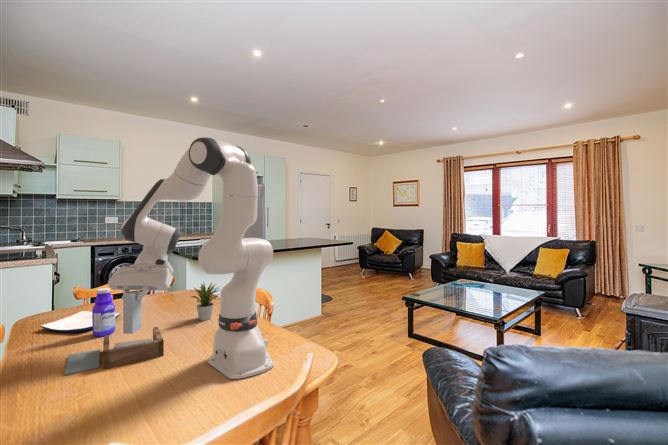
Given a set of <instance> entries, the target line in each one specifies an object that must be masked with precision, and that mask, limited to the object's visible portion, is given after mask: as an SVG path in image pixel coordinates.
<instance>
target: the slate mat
mask: <svg viewBox="0 0 668 445" xmlns="http://www.w3.org/2000/svg"><path fill="white" fill-rule="evenodd" d="M100 358H101V349H93V350H88V351H82V352H78V353H73V354H69V355H68V358H67V363H66V366H65V369H64V376H68V375H73V374H77V373H78V374H79V373H84V372H87V371H92V370H96V369H100V362H101V360H100Z"/></svg>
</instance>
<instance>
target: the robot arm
mask: <svg viewBox="0 0 668 445" xmlns="http://www.w3.org/2000/svg"><path fill="white" fill-rule="evenodd" d="M251 162H252V161H251V157H250V155H249V153H248V151H246V150H245V149H243V148H242V147H241V146H238V145H234V144H231V143H229V142H227V141H225V140H221V139H216V138H215V139H214V138H212V137H206V136H205V137H198V138H195V139H194V140H193V141H192V143H191V144H190V146H189V148H188V149H186V151H185V152H184V153H183V154H182V156H181V158H180V159H179V161H178V162H177V164H176V166H175V169H174V170H173V173H172V174H171V175H169V176H168V177H167V178H160V179H159V180H157V181H156V183H154V185H153V186H152V187H151V189H150V190H148V191H147V193H146V195H145V196H144V197H143V199H142V200H141V201H140V203H139V204H138V205H137V207H136V209H135V210H134V211H133V213H131V214H130V215H129V216H128V217H127V218H126V219H125V220H124V222H123V224H122V225H121V228H120V234H121V235H122V237H123V239H124V240H125V241H128V242H131V243H135V244H139V245H143V246H142V251H141V252H140V253H139V254H138V256H137V258H136V260H135V261H134V263H133V265H122V266H121V267H118V268H117V269H116V271H115V272H113V274H112V275H111V277H110V278H109V279H108V281H107V285H108V288H110V290H113V291H115V290H116V291H117V290H118V291H122V293H123V294H122V297H121V300H122V301H123V295H125V294H127V293H130V292H131V291H141V293H140V294H137V295H136V297H135V299H136V301H141V302H142V300H143V298H144V297H145V296H146V295H148V294H149V292H150V291H167V290H168V289H169V288H170V287H171V284H172V280H173V274H174V268H173V266H172V265H171V263H170V262H169V261H168V260H165V259H166V257H167V256H168V255H170V254H172V253H173V252H174V251H175V249H176V246H177V244H178V242H179V241H180V238H181V235H180V233H179V230H178V229H177V228H176V227H174V226H172V225H169V224H167V223H163V222H160V221H158V220H155V219H153V218H150V217H149V216H148V215H149V213H150V211H151V210H152V209H153V208H154V206H155V205H156V203H157V202H160V201H166V200H167V201H169V200H170V201H179V202H180V201H181V202H183V201H184V202H187V201H191V200H195V199H197V198H198V197H199V196H201V194H202V192H204V189H205V188H206V186H207V183H208V181H209V180H210V178H211V176H215V175H217V176H219V178H220V179H221V180H222V200H221V201H222V204H221V214H220V215H221V216H220V221H219V223H218V226H217V228H216V231H215V232H214V234H213V235H212V236H211V237H210V239H209V240H208V241H206V242H205V243H204V244H202V245H201V247H200V249H199V252H198V256H197V257H198V265H199V267H200V268H201V269H202V270H203V272H204V273H205V274H210V275H226V274H227V275H229V274H233V276H232V277H231V279H230V281H229V282H228V283H227V284H225V285H223V286H222V287H223V288H221V291H220V293H219V295H220V296H219V298H220V300H219V301H220V304H219V308H220V310H219V312H220V313H219V315H218V319H217V320H218V329H217V331H216V332H215V333H214V335H213V342H212V343H213V344H212V355H211V356H210V357H208V358H207V363H208V364H209V365H210V366H211V367H213V368H214V369H216V370H217V371H218V372H220V373H221V374H222V375H224V376H225V377H226V378H228V379H230V380H237V379H238V380H239V379H244V378H249V377H252V376H256V375H259V374H263V373H265V372H267V371H269V370H270V369H272V368H273V367H274V361H273V360H272V357H271V356H270V354H269V352H268V350H267V349H266V347H268V346H269V341H268V340H269V339H267V338H264V337H263V334H264V333H263V331H260V330H261V329H260V327H259V325H258V316H257V312H256V295H257V293H256V292H257V287H258V284H259V280H260V278H261V277H262V274H263V273H264V270H265V269H266V268H267V266H268V265H269V264H271V262H272V260H273V258H274V249H273V245H272V244H271V243H270V241H268V240H267V239H266V238H265V239H263V238H259V237H245V238H244V236H245V233H246V232H247V230H248V229H249V228H250V227H252V226H253V225H255V223H256V222H257V220H258V205H259V204H258V202H259V201H258V200H259V184H258V175H257V170H256V168H255V167H254V166H253V165H252V163H251ZM263 338H264V339H263Z"/></svg>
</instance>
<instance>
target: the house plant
mask: <svg viewBox="0 0 668 445" xmlns="http://www.w3.org/2000/svg"><path fill="white" fill-rule="evenodd" d="M216 285H217V283H215V284H213V282H211V283H210V284H209V286H207V289H206V286H205V282H204V281H203V282H202V283H200V286H199V288H200V289H197V288H196V287H194V286H193V289H194V292H195V293H196V294H197V295H198V296H196V295H191V296H190V298H194V299H196V301H197V302H196V309H197V316H198V320H199V321H202V322H203V321H208V320H211V319H212V316H213V310H214V305H215V304H214V302H212V300H215V301H217V299H216V298H220V296H219V295H220V293H218V294H215V293H217V292H221V291H222V289H221V287H223V285H221V286H218V287H215V286H216Z"/></svg>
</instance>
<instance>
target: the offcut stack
mask: <svg viewBox="0 0 668 445" xmlns="http://www.w3.org/2000/svg"><path fill="white" fill-rule="evenodd" d="M150 341H152V338H144V339H139V340H131V341H122V342H117V343H116V342H115V344H114V345H113V348H112V349H115V348H120V347H125V346H130V345H135V344H140V343H145V342H150Z"/></svg>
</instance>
